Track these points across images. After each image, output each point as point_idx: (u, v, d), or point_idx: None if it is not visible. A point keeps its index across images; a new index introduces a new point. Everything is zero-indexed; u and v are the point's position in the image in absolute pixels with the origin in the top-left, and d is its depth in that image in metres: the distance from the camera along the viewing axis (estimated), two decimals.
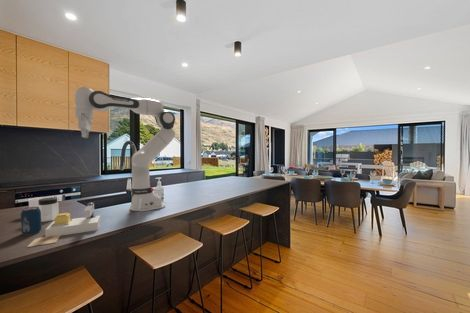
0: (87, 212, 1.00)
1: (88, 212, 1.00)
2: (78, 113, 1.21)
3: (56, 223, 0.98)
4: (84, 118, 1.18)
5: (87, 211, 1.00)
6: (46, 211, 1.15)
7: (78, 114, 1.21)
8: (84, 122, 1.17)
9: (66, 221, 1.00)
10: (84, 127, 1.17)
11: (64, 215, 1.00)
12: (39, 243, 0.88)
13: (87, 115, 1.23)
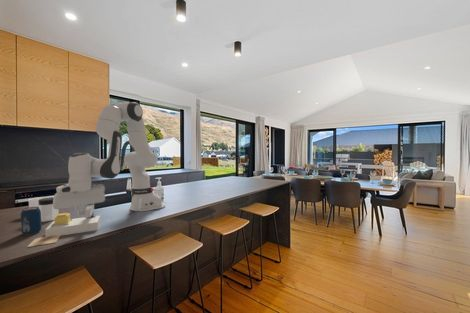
0: (88, 212, 1.00)
1: (89, 212, 1.00)
2: (90, 185, 1.01)
3: (56, 223, 0.98)
4: None
5: (88, 211, 1.00)
6: (46, 211, 1.15)
7: (90, 186, 1.01)
8: None
9: (66, 221, 1.00)
10: None
11: (64, 215, 1.00)
12: (39, 243, 0.88)
13: None
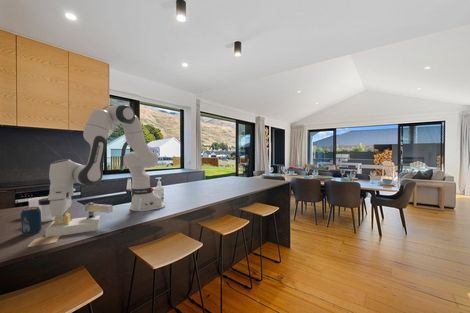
0: (111, 207, 1.08)
1: (111, 207, 1.09)
2: None
3: (56, 223, 0.98)
4: None
5: (111, 206, 1.08)
6: (46, 211, 1.15)
7: None
8: None
9: (66, 221, 1.00)
10: None
11: (64, 215, 1.00)
12: (39, 243, 0.88)
13: None
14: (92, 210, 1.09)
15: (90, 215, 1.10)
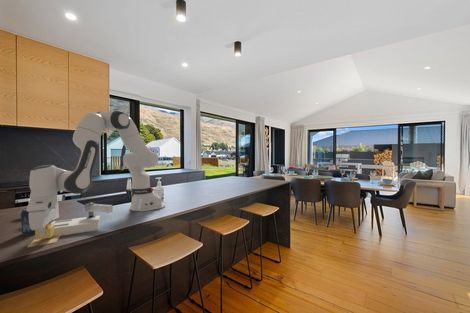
0: (111, 207, 1.08)
1: (111, 207, 1.09)
2: None
3: (37, 237, 0.88)
4: None
5: (111, 206, 1.08)
6: None
7: None
8: None
9: (49, 234, 0.90)
10: None
11: (46, 227, 0.90)
12: (39, 243, 0.88)
13: None
14: (92, 210, 1.09)
15: (90, 215, 1.10)
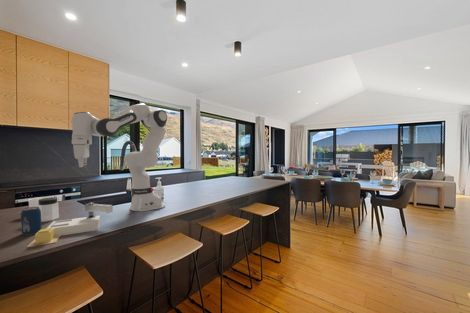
0: (111, 207, 1.08)
1: (111, 207, 1.09)
2: None
3: (37, 240, 0.88)
4: None
5: (111, 206, 1.08)
6: (46, 211, 1.15)
7: None
8: None
9: (49, 238, 0.90)
10: None
11: (46, 231, 0.90)
12: (39, 243, 0.88)
13: None
14: (92, 210, 1.09)
15: (90, 215, 1.10)
